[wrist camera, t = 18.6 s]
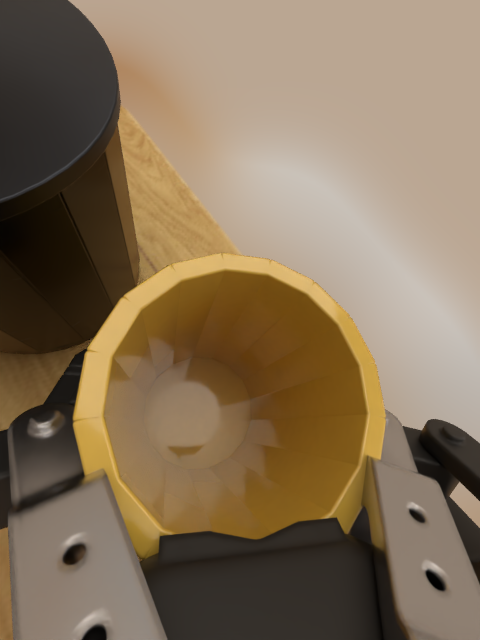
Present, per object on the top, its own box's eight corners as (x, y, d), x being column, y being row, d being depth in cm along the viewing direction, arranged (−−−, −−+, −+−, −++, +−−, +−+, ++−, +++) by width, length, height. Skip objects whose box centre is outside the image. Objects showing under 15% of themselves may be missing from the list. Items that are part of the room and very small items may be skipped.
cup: (194, 509, 13) (257, 700, 4) (107, 410, 14) (-10, 382, 5) (277, 410, 16) (428, 390, 7) (201, 330, 16) (245, 212, 7)
